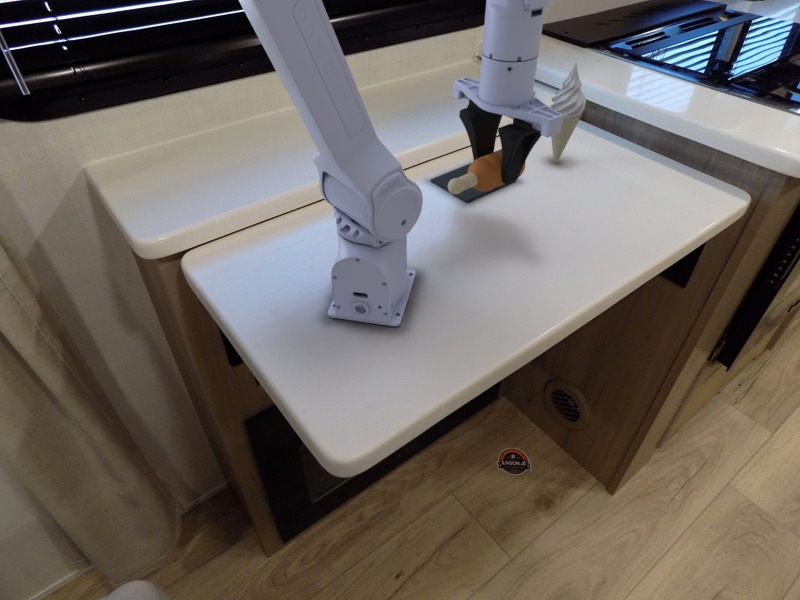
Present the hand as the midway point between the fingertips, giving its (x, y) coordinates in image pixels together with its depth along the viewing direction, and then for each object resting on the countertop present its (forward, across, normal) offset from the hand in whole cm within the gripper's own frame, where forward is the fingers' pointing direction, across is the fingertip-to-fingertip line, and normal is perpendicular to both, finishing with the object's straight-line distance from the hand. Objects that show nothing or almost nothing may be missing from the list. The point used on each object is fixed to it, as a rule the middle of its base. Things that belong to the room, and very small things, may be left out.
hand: (496, 173), depth 63 cm
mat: (+8, +11, -8) cm, 16 cm away
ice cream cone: (+9, +8, -22) cm, 25 cm away
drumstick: (+1, 0, +1) cm, 2 cm away
